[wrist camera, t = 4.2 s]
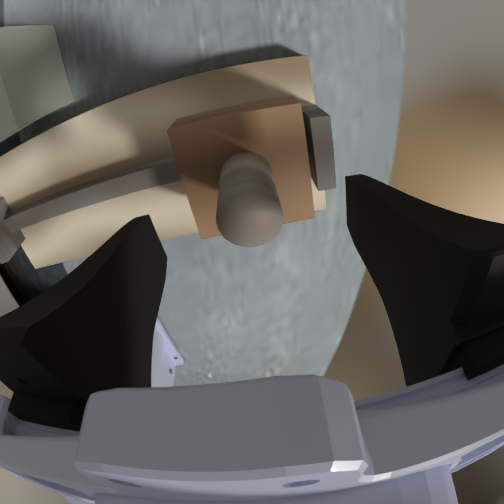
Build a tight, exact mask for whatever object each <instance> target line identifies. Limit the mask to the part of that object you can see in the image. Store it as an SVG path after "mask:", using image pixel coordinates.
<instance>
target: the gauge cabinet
mask: <svg viewBox="0 0 504 504" xmlns="http://www.w3.org/2000/svg"><path fill="white" fill-rule="evenodd" d="M72 102H74V98H73V94H72V91H71V88H70V85H69V81H68V78H67V74H66V71H65V67H64V63H63V60H62V56H61V52H60V48H59V44H58V40H57V36H56V31H55V27H54V25H26V26H8V27H0V142H1V141H3V140H5V139H6V138H8V137H10V136H11V135H13V134H15V133H17V132H18V131H20V130H22V129H23V128H25V127H27V126H28V125H30V124H32V123H34V122H35V121H37V120H39V119H41V118H43V117H45V116H46V115H48V114H50V113H52V112H54V111H56V110H58V109H60V108H62V107H64V106H66V105H68V104H70V103H72Z"/></svg>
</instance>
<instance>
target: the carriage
mask: <svg viewBox="0 0 504 504" xmlns="http://www.w3.org/2000/svg"><path fill="white" fill-rule="evenodd" d="M167 134H168V137H169V140H170V144H171V147H172V150H173V154H174V157H175V160H176V163H177V167H178V170H179V173H180V176H181V179H182V182H183V186H184V189H185V192H186V195H187V198H188V201H189V204H190V207H191V210H192V213H193V216H194V219H195V222H196V225H197V228H198V231H199V234H200V237H201V239H205V238H210V237H215V236H221V235H222V236H223V237H224V238H225V239H227V240H228V241H230V242H231V243H233V244H236V245H239V246H244V247H253V246H259V245H262V244H264V243H267V242H268V241H270V240H271V239H273V238H274V237H275V236H276V235H277V234H278V232H279V231H280V229H281V227H282V224H285V223H291V222H296V221H302V220H308V219H313V218H315V214H314V204H313V194H312V185H311V175H310V167H309V158H308V150H307V143H306V135H305V128H304V121H303V114H302V107H301V103H300V102H299V101H298V100H296V99H295V98H294V97H293V96H284V97H277V98H271V99H265V100H259V101H254V102H248V103H243V104H238V105H233V106H228V107H224V108H219V109H215V110H210V111H206V112H202V113H198V114H194V115H190V116H186V117H182V118H178V119H176V120H175V121H174V122H173V124H172V125H171V126H170V127H169V129H168V130H167Z"/></svg>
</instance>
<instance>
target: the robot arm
mask: <svg viewBox="0 0 504 504" xmlns="http://www.w3.org/2000/svg"><path fill="white" fill-rule="evenodd" d="M345 181H346V206H347V226H348V229H349V232H350V234H351V237H352V240H353V242H354V245H355V247H356V249H357V251H358V253H359V255H360V256H361V258H362V260H363V262H364V264H365V266H366V268H367V270H368V271H369V273H370V275H371V277H372V279H373V281H374V283H375V285H376V287H377V289H378V291H379V293H380V295H381V297H382V300H383V302H384V306H385V308H386V311H387V314H388V317H389V320H390V323H391V326H392V330H393V333H394V336H395V340H396V343H397V347H398V351H399V355H400V359H401V364H402V368H403V372H404V378H405V382H406V387H404V388H401V389H398V390H394V391H391V392H388V393H384V394H380V395H376V396H373V397H369V398H365V399H361V400H357V401H354V400H353V397H352V395H351V393H350V391H349V389H348V387H347V385H346V384H344V383H341V382H339V381H336V380H332V379H328V378H324V377H321V376H317V375H313V374H312V375H292V376H273V377H266V378H259V379H251V380H243V381H235V382H225V383H215V384H204V385H191V386H174V387H173V385H174V376H175V367H176V366H177V365H183V364H184V360H183V358H182V357H181V355H180V354H179V352H178V350H177V349H176V347H175V346H174V344H173V343H172V341H171V339H170V338H169V336H168V334H167V333H166V331H165V330H164V328H163V326H162V325H161V323H160V321H159V320H158V318H157V315H158V311H159V306H160V302H161V298H162V293H163V288H164V284H165V279H166V268H167V256H166V253H165V251H164V249H163V246H162V244H161V242H160V239H159V237H158V235H157V232H156V230H155V227H154V225H153V223H152V220H151V218H150V215H149V214H148V215H144V216H140V217H135V218H133V219H132V220H130V221H129V222H128V223H126V224H125V225H124V226H123V227H121V228H120V229H119V230H118V231H117V232H116V233H115V234H114V235H112V236H111V237H110V238H109V239H108V240H107V241H106V242H105V243H104V244H103V245H102V246H101V247H99V248H98V249H97V250H96V251H95V252H94V253H93V254H92V255H90V256H89V257H88V258H87V259H86V260H85V261H84V262H83V263H81V264H80V265H79V266H78V267H77V268H76V269H74V270H73V271H72V272H71V273H69V274H68V275H67V276H65V277H64V278H63V279H62V280H60V281H59V282H58V283H56V284H55V285H53V286H52V287H50V288H49V289H47V290H46V291H45V292H43V293H42V294H40V295H39V296H37V297H36V298H34V299H32V300H31V301H29V302H27V303H26V304H24V305H22V306H21V307H19V308H17V309H15V310H13V311H12V312H9V313H8V314H5V315H3V316H1V317H0V380H1V381H2V382H3V383H4V384H5V385H6V386H7V387H8V388H9V389H11V390H12V391H13V392H14V393H13V396H12V399H10V398H8V397H6V396H4V395H0V468H2V469H4V470H6V471H8V472H9V473H11V474H13V475H15V476H17V477H19V478H21V479H24V480H26V481H29V482H32V483H34V484H36V485H39V486H41V487H44V488H47V489H49V490H52V491H55V492H58V493H60V494H61V495H62V496H63V497H64V498H65V500H66V501H67V502H68V503H69V504H458V501H457V497H456V492H455V488H454V484H453V480H452V476H451V473H453V472H455V471H457V470H459V469H461V468H463V467H465V466H467V465H469V464H471V463H473V462H475V461H477V460H478V459H480V458H482V457H484V456H486V455H488V454H489V453H491V452H493V451H494V450H496V449H498V448H499V447H501V446H503V445H504V224H501V223H496V222H491V221H486V220H482V219H478V218H474V217H470V216H466V215H463V214H459V213H456V212H452V211H449V210H446V209H444V208H441V207H438V206H435V205H432V204H430V203H427V202H424V201H422V200H420V199H417V198H415V197H413V196H410V195H408V194H406V193H404V192H402V191H399V190H397V189H395V188H393V187H391V186H389V185H386V184H384V183H382V182H380V181H378V180H376V179H373V178H371V177H368V176H366V175H362V174H359V175H352V176H345Z"/></svg>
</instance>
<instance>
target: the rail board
mask: <svg viewBox="0 0 504 504" xmlns="http://www.w3.org/2000/svg"><path fill="white" fill-rule="evenodd" d="M284 96H293V97H294V98H295V99H296V100H298V101H299V102H300V103H301V107H302V114H303V121H304V128H305V135H306V143H307V150H308V158H309V167H310V175H311V185H312V194H313V204H314V211H318V210H324V209H326V202H325V190H328V189H334V188H336V176H335V163H334V151H333V140H332V130H331V120H330V115H328V114H327V113H326V112H324V111H323V110H322V109H320V108H319V107H317V106H316V105H315V99H314V92H313V85H312V79H311V72H310V66H309V60H308V55H298V56H289V57H281V58H274V59H267V60H261V61H255V62H249V63H244V64H238V65H233V66H228V67H224V68H219V69H215V70H210V71H206V72H202V73H198V74H194V75H190V76H186V77H183V78H179V79H176V80H172V81H169V82H165V83H162V84H159V85H156V86H152V87H149V88H146V89H143V90H140V91H137V92H135V93H132V94H129V95H126V96H123V97H121V98H118V99H115V100H113V101H110V102H108V103H105V104H103V105H100V106H98V107H95V108H93V109H91V110H88V111H86V112H84V113H81V114H79V115H77V116H75V117H72V118H70V119H68V120H66V121H64V122H62V123H60V124H58V125H56V126H54V127H52V128H50V129H48V130H46V131H44V132H42V133H40V134H38V135H36V136H34V137H32V138H31V139H29V140H27V141H25V142H23V143H22V144H20V145H18V146H16V147H15V148H13V149H11V150H10V151H8V152H6V153H5V154H3V155H2V156H0V263H1V264H2V263H5V262H8V261H9V260H10V258H11V257H12V256H13V254H14V253H15V252H16V250H17V249H18V248H19V247H20V245H21V246H22V248H23V250H24V251H25V253H26V255H27V256H28V258H29V259H30V261H31V263H32V264H33V266H34V267H35V269H36V268H41V267H45V266H49V265H53V264H57V263H61V262H66V261H70V260H74V259H78V258H83V257H87V256H90V255H92V254H93V253H94V252H95V251H96V250H97V249H98V248H99V247H101V246H102V245H103V244H104V243H105V242H106V241H107V240H108V239H109V238H110V237H111V236H112V235H114V234H115V233H116V232H117V231H118V230H119V229H120V228H121V227H123V226H124V225H125V224H126V223H128V222H129V221H130V220H132V219H133V218H135V217H140V216H144V215H148V214H149V215H150V218H151V220H152V223H153V225H154V227H155V230H156V232H157V235H158V237H159V239H160V240H165V239H170V238H175V237H180V236H184V235H189V234H194V233H199V231H198V228H197V225H196V222H195V219H194V216H193V213H192V210H191V207H190V204H189V201H188V198H187V195H186V192H185V189H184V186H183V182H182V179H181V176H180V173H179V170H178V167H177V163H176V160H175V157H174V154H173V150H172V147H171V144H170V140H169V137H168V134H167V130H168V129H169V127H170V126H171V125H172V124H173V122H174V121H175V120H176V119H178V118H182V117H186V116H190V115H194V114H198V113H202V112H206V111H210V110H215V109H219V108H224V107H228V106H233V105H238V104H243V103H248V102H254V101H259V100H265V99H271V98H277V97H284Z"/></svg>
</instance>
